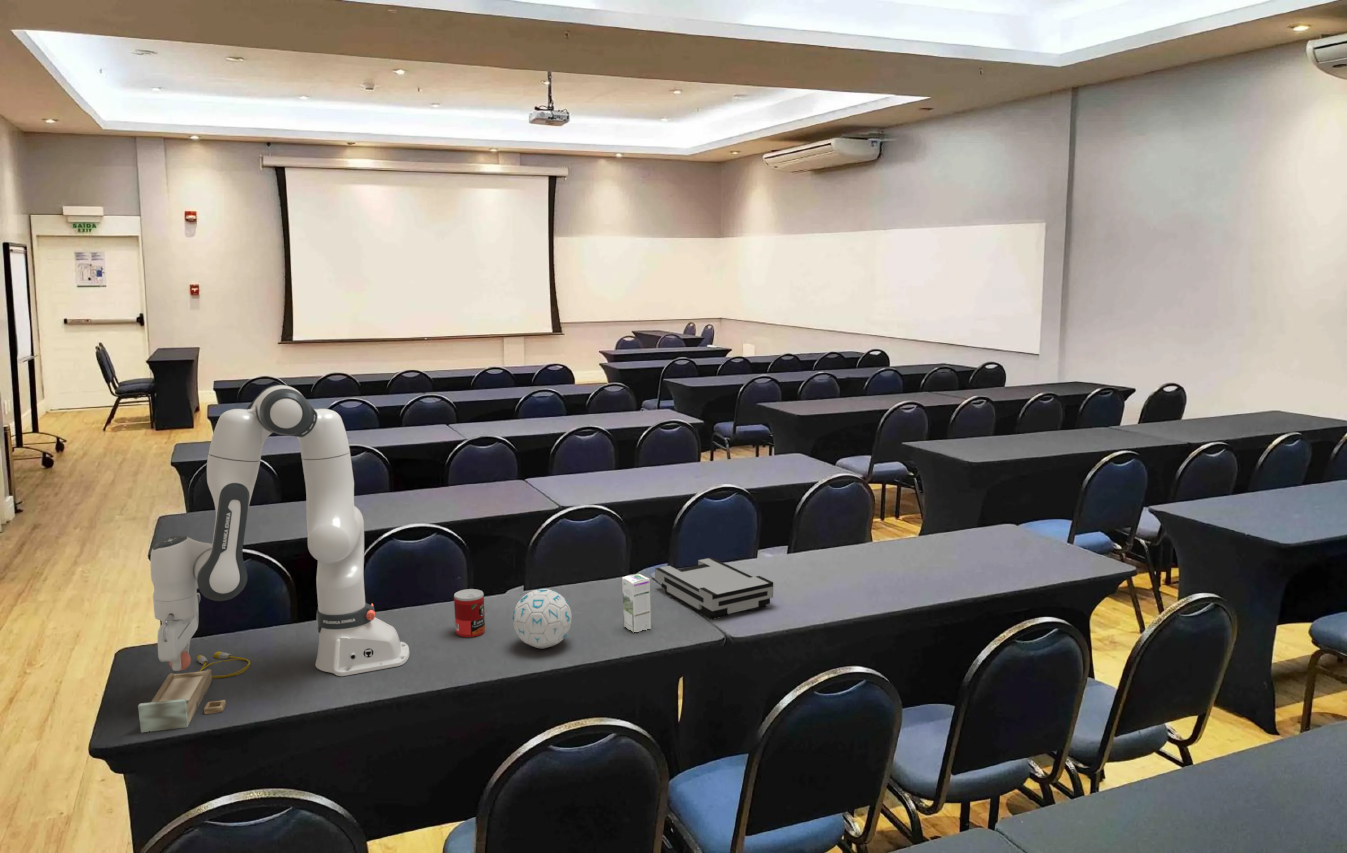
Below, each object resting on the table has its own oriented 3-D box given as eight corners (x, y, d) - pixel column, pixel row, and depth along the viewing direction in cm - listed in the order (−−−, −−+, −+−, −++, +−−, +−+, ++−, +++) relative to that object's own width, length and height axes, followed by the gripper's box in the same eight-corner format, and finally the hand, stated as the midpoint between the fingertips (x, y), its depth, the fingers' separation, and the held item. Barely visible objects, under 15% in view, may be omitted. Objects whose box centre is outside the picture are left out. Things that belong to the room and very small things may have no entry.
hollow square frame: (225, 704, 211) (225, 699, 211) (222, 712, 208) (221, 707, 207) (208, 706, 210) (207, 701, 210) (204, 714, 207) (204, 709, 207)
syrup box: (651, 629, 254) (651, 577, 251) (633, 634, 250) (632, 582, 248) (640, 622, 258) (639, 572, 256) (622, 627, 255) (621, 576, 252)
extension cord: (249, 652, 242) (249, 644, 241) (251, 675, 228) (250, 667, 227) (197, 660, 237) (196, 653, 236) (195, 685, 223) (194, 677, 222)
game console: (712, 578, 295) (712, 553, 294) (773, 609, 268) (773, 582, 267) (655, 590, 285) (654, 564, 284) (712, 623, 258) (712, 595, 257)
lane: (212, 681, 224) (210, 657, 223) (187, 727, 201) (184, 700, 200) (170, 685, 221) (168, 661, 220) (140, 732, 199) (138, 706, 198)
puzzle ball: (576, 653, 238) (574, 597, 235) (516, 660, 234) (514, 603, 232) (567, 631, 252) (566, 578, 250) (511, 637, 249) (509, 583, 246)
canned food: (476, 639, 247) (474, 599, 246) (449, 636, 250) (448, 596, 248) (490, 629, 255) (489, 590, 253) (465, 625, 257) (463, 587, 255)
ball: (193, 665, 219) (192, 647, 218) (188, 672, 214) (187, 654, 214) (172, 666, 217) (171, 648, 217) (167, 674, 213) (166, 656, 213)
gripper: (179, 622, 204) (184, 681, 207) (201, 591, 224) (206, 646, 226) (147, 624, 203) (152, 684, 205) (172, 593, 222) (177, 648, 225)
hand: (181, 664), depth 216 cm, fingers closed on ball, 4 cm apart
